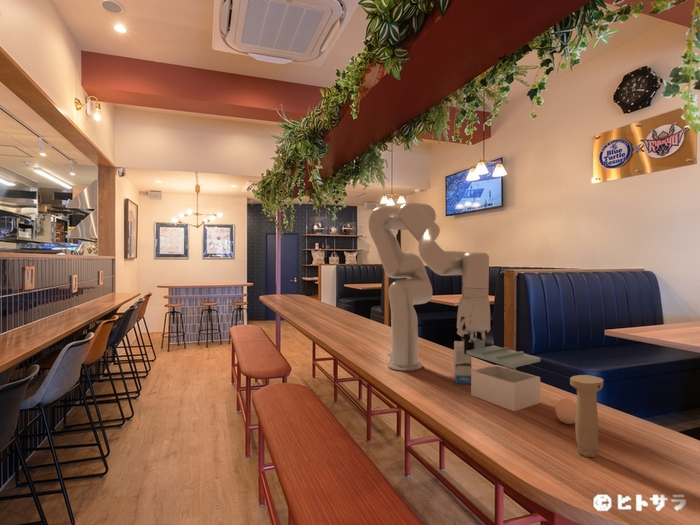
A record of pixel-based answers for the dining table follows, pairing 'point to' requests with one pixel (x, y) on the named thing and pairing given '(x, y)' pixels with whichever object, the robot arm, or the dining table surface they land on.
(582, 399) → the handle
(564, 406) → the egg
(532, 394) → the tub
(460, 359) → the ink box
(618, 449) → the dining table surface
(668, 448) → the dining table surface
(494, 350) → the lid
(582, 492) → the dining table surface
